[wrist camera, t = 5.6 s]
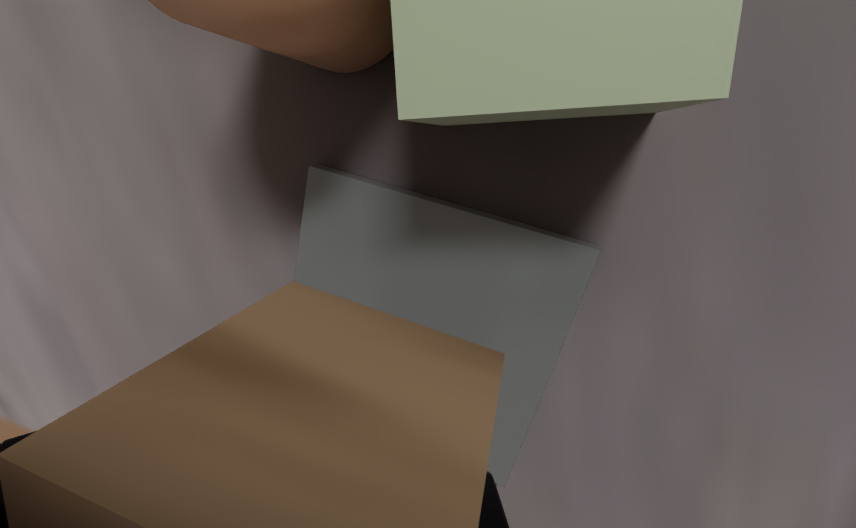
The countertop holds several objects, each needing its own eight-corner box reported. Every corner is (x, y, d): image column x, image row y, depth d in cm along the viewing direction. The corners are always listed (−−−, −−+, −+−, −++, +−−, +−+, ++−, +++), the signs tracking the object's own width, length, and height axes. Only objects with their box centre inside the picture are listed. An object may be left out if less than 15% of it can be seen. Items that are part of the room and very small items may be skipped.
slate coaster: (597, 245, 11) (600, 250, 10) (505, 472, 13) (504, 486, 13) (319, 164, 12) (308, 165, 11) (287, 387, 15) (278, 397, 14)
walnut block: (446, 519, 9) (354, 900, 5) (271, 446, 10) (42, 712, 5) (504, 353, 8) (455, 678, 3) (293, 280, 8) (-4, 454, 4)
